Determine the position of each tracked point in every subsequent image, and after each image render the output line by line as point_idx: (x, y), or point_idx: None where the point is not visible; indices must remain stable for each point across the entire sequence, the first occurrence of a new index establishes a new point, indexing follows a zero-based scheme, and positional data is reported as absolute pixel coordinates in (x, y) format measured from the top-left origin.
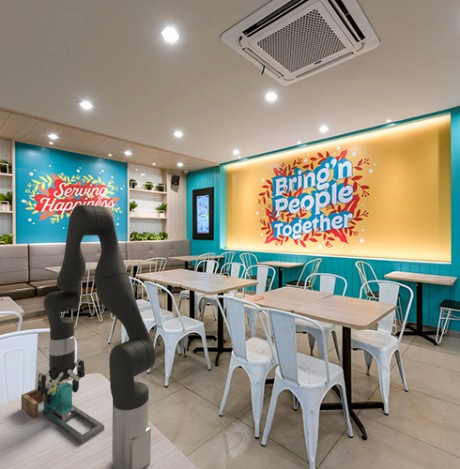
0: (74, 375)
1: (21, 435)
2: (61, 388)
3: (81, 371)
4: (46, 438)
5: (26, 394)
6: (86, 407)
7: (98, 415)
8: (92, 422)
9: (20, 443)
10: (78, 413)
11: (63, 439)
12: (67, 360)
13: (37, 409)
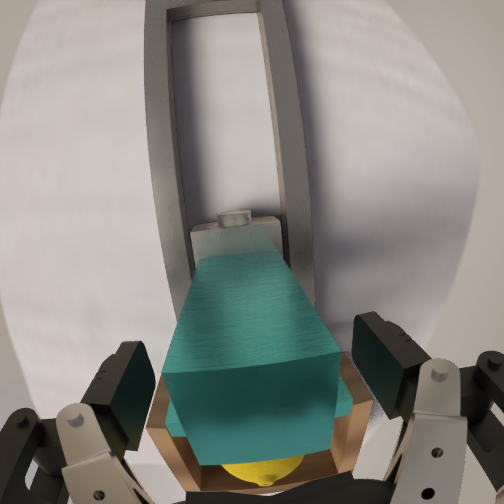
0: (89, 484)
1: (419, 270)
2: (323, 377)
3: (9, 467)
4: (372, 154)
5: (339, 473)
6: (116, 260)
7: (102, 131)
8: (167, 49)
9: (439, 217)
10: (179, 200)
11: (320, 77)
12: None
13: (344, 379)
